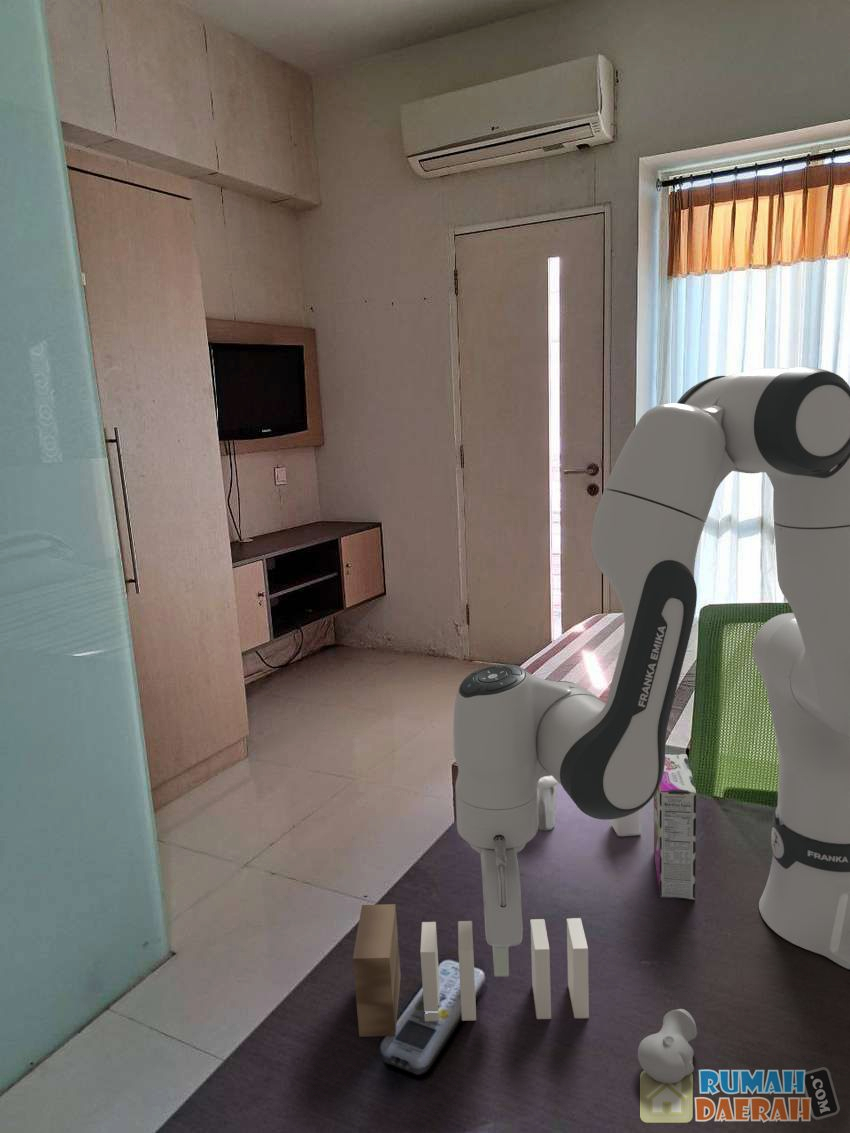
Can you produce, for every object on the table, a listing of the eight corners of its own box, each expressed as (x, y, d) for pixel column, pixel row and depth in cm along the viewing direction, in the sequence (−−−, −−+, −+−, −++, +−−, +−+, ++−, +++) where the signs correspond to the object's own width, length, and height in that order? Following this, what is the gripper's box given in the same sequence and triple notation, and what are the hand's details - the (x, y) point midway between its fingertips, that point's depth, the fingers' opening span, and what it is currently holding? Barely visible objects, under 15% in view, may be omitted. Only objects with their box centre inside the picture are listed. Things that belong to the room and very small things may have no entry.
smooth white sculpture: (668, 1107, 77) (625, 1066, 80) (707, 1056, 83) (665, 1020, 86) (681, 1081, 75) (636, 1040, 78) (719, 1031, 81) (676, 994, 84)
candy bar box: (651, 852, 117) (652, 751, 113) (686, 854, 116) (688, 752, 112) (657, 899, 106) (658, 789, 103) (696, 902, 105) (698, 791, 102)
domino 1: (439, 987, 93) (435, 921, 91) (438, 1021, 88) (434, 951, 86) (426, 988, 93) (422, 922, 91) (424, 1021, 88) (420, 952, 86)
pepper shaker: (609, 824, 125) (609, 770, 123) (634, 822, 125) (634, 768, 123) (617, 838, 121) (617, 782, 119) (642, 836, 121) (643, 780, 119)
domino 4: (545, 985, 92) (544, 919, 90) (551, 1018, 87) (549, 949, 85) (532, 985, 92) (530, 919, 90) (536, 1019, 87) (534, 949, 85)
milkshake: (521, 822, 127) (519, 766, 125) (550, 815, 128) (549, 759, 126) (533, 836, 123) (531, 778, 121) (563, 829, 124) (562, 772, 122)
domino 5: (581, 984, 92) (580, 918, 90) (588, 1018, 87) (588, 948, 85) (568, 985, 92) (566, 918, 90) (574, 1018, 87) (573, 948, 85)
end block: (400, 976, 95) (395, 904, 93) (395, 1035, 86) (389, 957, 84) (368, 977, 95) (362, 905, 93) (359, 1036, 86) (352, 958, 84)
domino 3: (506, 944, 91) (504, 876, 89) (509, 976, 86) (507, 904, 84) (492, 945, 91) (490, 876, 89) (494, 976, 86) (492, 904, 84)
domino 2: (474, 987, 93) (471, 920, 91) (476, 1020, 88) (472, 951, 86) (461, 987, 93) (458, 921, 91) (461, 1020, 88) (458, 951, 86)
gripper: (535, 869, 74) (537, 993, 77) (518, 768, 94) (520, 870, 97) (469, 871, 75) (474, 994, 78) (466, 770, 95) (470, 871, 98)
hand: (500, 924), depth 88 cm, fingers closed on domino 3, 5 cm apart
